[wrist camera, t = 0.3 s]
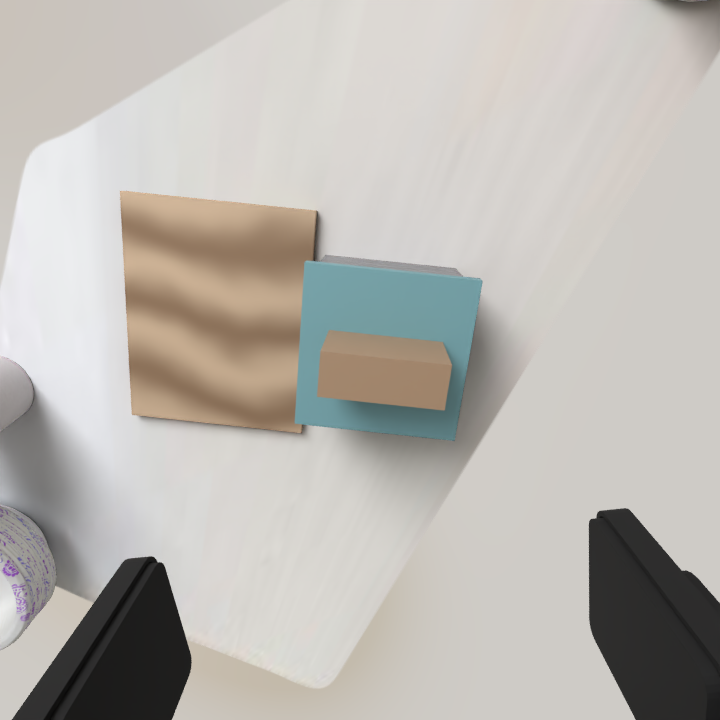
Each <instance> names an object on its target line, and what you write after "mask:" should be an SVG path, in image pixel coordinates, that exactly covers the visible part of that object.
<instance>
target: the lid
mask: <svg viewBox="0 0 720 720" xmlns="http://www.w3.org/2000/svg"><path fill="white" fill-rule="evenodd" d="M481 287H482V280H481V279H480V278H470V277H461V276H451V275H442V274H432V273H422V272H413V271H403V270H394V269H384V268H374V267H365V266H355V265H346V264H336V263H326V262H317V261H305V262H304V278H303V295H302V311H301V327H300V344H299V360H298V377H297V393H296V409H295V424H303V425H313V426H322V427H331V428H340V429H350V430H359V431H368V432H377V433H387V434H396V435H405V436H415V437H424V438H433V439H442V440H452V441H455V435H456V429H457V424H458V418H459V412H460V407H461V401H462V395H463V389H464V384H465V378H466V372H467V367H468V361H469V355H470V350H471V344H472V338H473V333H474V327H475V321H476V315H477V310H478V304H479V298H480V293H481Z"/></svg>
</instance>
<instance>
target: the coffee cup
mask: <svg viewBox="0 0 720 720" xmlns="http://www.w3.org/2000/svg"><path fill="white" fill-rule="evenodd" d="M33 398H34V390H33V386H32V383H31V380H30V378H29V377H28V375H27V374H26V372H25V371H24V370H23V369H22V368H21V367H20V366H19V365H18V364H17V363H15V362H14V361H12V360H10V359H8V358H6V357H3V356H0V432H1V431H2V430H4V429H5V428H6V427H8V426H9V425H10V424H11V423H13V422H14V421H15V420H17V419H18V418H19V417H21V416H22V415H23V414H24V413H26V412H27V411H28V410H29V408H30V407H31V405H32V402H33Z"/></svg>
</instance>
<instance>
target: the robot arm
mask: <svg viewBox="0 0 720 720" xmlns="http://www.w3.org/2000/svg"><path fill="white" fill-rule="evenodd" d="M680 1H686V2H696V1H708V0H680ZM589 620H590V626H591V631H592V634H593V637H594V639H595V641H596V643H597V645H598V647H599V649H600V651H601V653H602V655H603V657H604V659H605V661H606V663H607V665H608V666H609V669H610V670H611V672H612V674H613V676H614V678H615V680H616V682H617V684H618V686H619V688H620V690H621V692H622V694H623V696H624V698H625V700H626V701H627V703H628V705H629V707H630V709H631V711H632V713H633V715H634V717H635V719H636V720H720V603H719V602H718V601H717V600H716V598H715V597H714V596H713V595H712V594H711V593H710V592H709V591H708V589H707V588H706V587H705V586H704V585H703V584H702V583H701V581H700V580H699V579H698V578H697V577H696V576H695V575H693V574H692V573H691V572H688V571H681V569H680V568H679V567H678V566H677V565H676V564H675V563H674V561H673V560H672V559H671V558H670V557H669V555H668V554H667V553H666V552H665V551H664V550H663V549H662V547H661V546H660V545H659V544H658V542H657V541H656V540H655V539H654V538H653V537H652V536H651V534H650V533H649V532H648V531H647V530H646V528H645V527H644V526H643V525H642V524H641V523H640V521H639V520H638V519H637V518H636V517H635V516H634V514H633V513H632V512H631V511H630V510H629V509H626V508H624V509H615V510H605V511H599V512H598V513H597V518H596V519H591V520H590V521H589ZM190 670H191V654H190V650H189V647H188V644H187V640H186V637H185V633H184V630H183V627H182V623H181V620H180V617H179V613H178V610H177V606H176V603H175V600H174V596H173V593H172V590H171V586H170V583H169V579H168V576H167V573H166V569H165V566H164V564H163V563H160V562H159V563H158V562H157V560H156V559H155V558H154V557H141V558H131V559H127V560H125V561H124V562H123V563H122V564H121V566H120V567H119V568H118V570H117V571H116V573H115V574H114V576H113V577H112V578H111V580H110V581H109V583H108V584H107V585H106V587H105V588H104V590H103V591H102V593H101V594H100V595H99V597H98V598H97V600H96V601H95V602H94V604H93V605H92V607H91V608H90V610H89V611H88V613H87V614H86V616H85V617H84V618H83V620H82V621H81V622H80V624H79V625H78V627H77V628H76V629H75V631H74V632H73V634H72V635H71V637H70V638H69V639H68V641H67V642H66V644H65V645H64V647H63V648H62V650H61V651H60V652H59V654H58V655H57V657H56V658H55V659H54V661H53V662H52V664H51V665H50V666H49V668H48V669H47V671H46V672H45V674H44V675H43V676H42V678H41V679H40V681H39V682H38V683H37V685H36V686H35V688H34V689H33V691H32V692H31V693H30V695H29V696H28V698H27V699H26V700H25V702H24V703H23V705H22V706H21V708H20V709H19V710H18V712H17V713H16V715H15V716H14V718H13V719H12V720H172V718H173V715H174V713H175V710H176V707H177V705H178V702H179V700H180V697H181V695H182V692H183V690H184V687H185V684H186V682H187V679H188V677H189V674H190Z"/></svg>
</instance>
